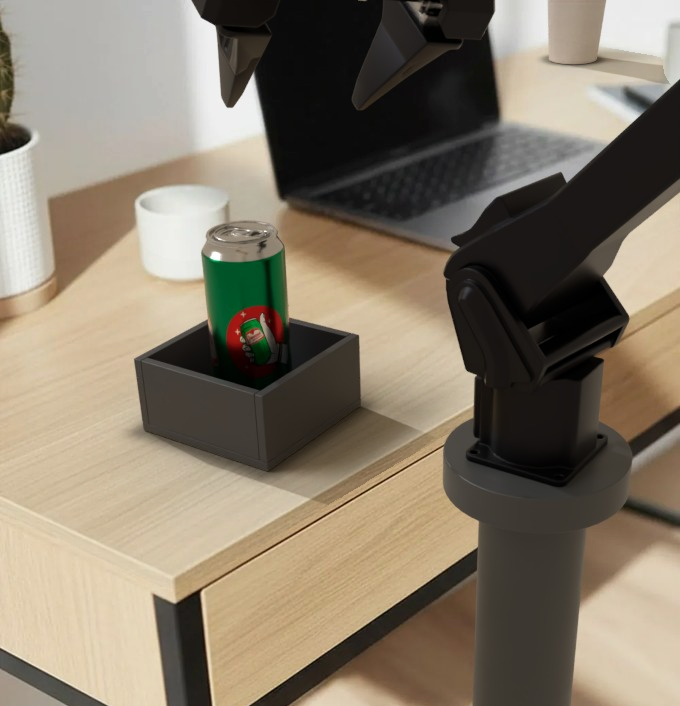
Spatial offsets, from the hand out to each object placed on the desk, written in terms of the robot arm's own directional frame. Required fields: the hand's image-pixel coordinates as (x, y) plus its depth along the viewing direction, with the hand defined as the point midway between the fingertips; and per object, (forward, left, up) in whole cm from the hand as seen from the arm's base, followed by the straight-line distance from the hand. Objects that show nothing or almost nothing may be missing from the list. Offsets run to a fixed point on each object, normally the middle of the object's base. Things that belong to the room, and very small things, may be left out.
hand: (293, 104), depth 74 cm
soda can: (-1, +7, -18) cm, 19 cm away
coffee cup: (+27, -99, -19) cm, 104 cm away
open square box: (0, +7, -19) cm, 20 cm away
